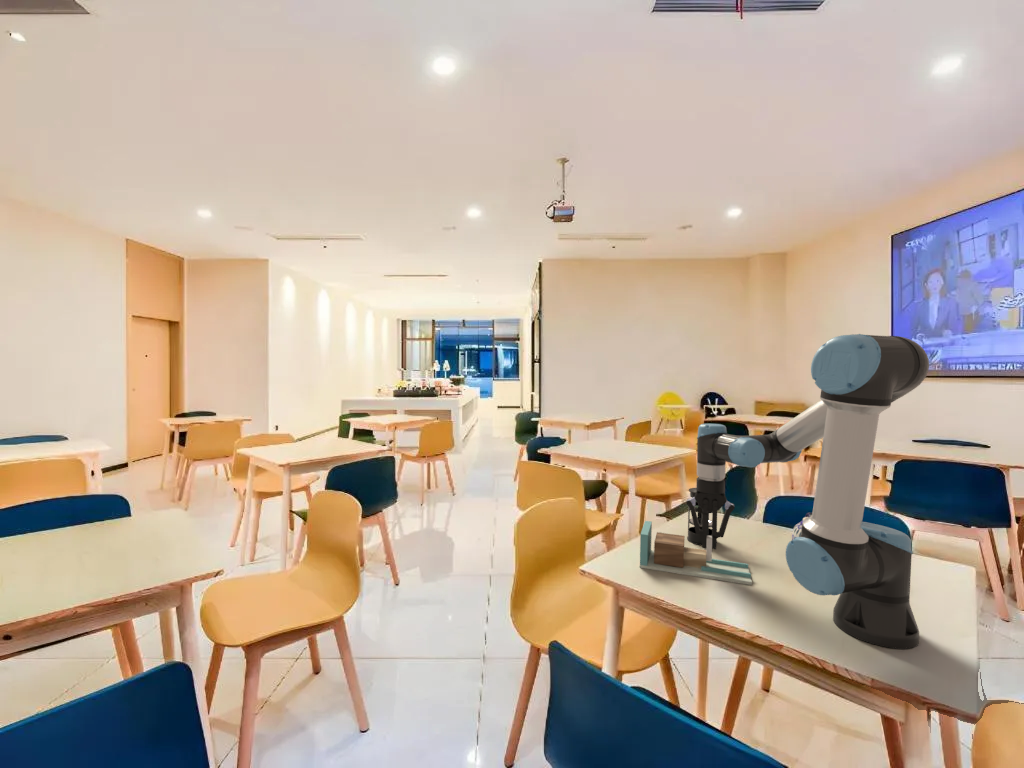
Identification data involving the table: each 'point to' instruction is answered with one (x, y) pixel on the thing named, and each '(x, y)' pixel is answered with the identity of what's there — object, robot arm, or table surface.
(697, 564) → the light wood bar
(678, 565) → the block
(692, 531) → the french press
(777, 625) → the table surface
